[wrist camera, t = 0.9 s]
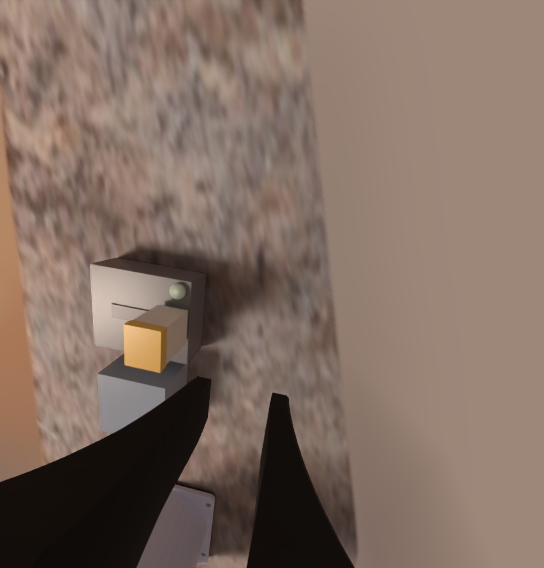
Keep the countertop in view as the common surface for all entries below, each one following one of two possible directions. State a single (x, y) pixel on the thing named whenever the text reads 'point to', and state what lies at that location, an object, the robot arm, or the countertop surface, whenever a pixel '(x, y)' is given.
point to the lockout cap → (135, 391)
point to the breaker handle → (155, 338)
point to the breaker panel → (144, 299)
